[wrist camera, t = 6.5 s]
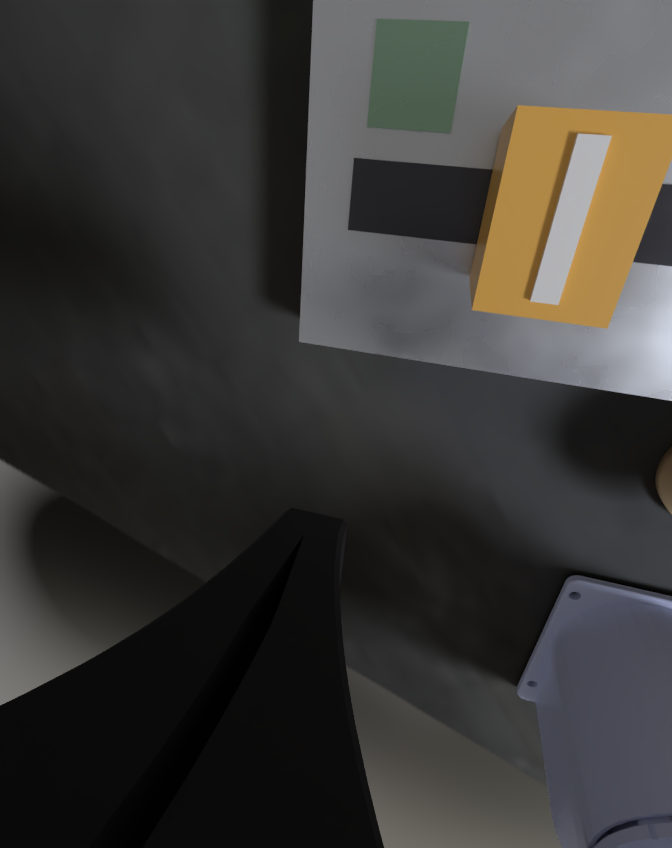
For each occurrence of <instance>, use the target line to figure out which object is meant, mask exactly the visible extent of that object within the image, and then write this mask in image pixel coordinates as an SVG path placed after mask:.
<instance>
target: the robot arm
mask: <svg viewBox="0 0 672 848" xmlns="http://www.w3.org/2000/svg"><path fill="white" fill-rule="evenodd" d="M347 526H348V525H347V524H346V522H345V521H344V520H343V519H338V518H334V517H329V516H325V515H321V514H316V513H312V512H307V511H303V510H298V509H294V508H291V509H289V510H287V511H286V512H285V513H284V514H283V515H282V516H281V517H280V518H279V519H278V520H277V521H276V522H275V523H274V524H273V525H272V526H271V527H270V528H269V529H268V530H267V531H266V532H265V533H264V534H263V535H262V536H260V537H259V538H258V539H257V540H256V541H255V542H254V543H253V544H252V545H251V546H250V547H248V548H247V549H246V550H245V551H244V552H243V553H241V554H240V555H239V556H238V557H237V558H236V559H235V560H233V561H232V562H231V563H230V564H229V565H228V566H226V567H225V568H224V569H223V570H222V571H220V572H219V573H218V574H217V575H215V576H214V577H213V578H211V579H210V580H209V581H208V582H206V583H205V584H204V585H203V586H201V587H200V588H199V589H197V590H196V591H195V592H194V593H192V594H191V595H190V596H188V597H187V598H186V599H184V600H183V601H181V602H180V603H179V604H177V605H176V606H175V607H173V608H172V609H170V610H169V611H167V612H166V613H164V614H163V615H162V616H160V617H158V618H157V619H155V620H154V621H152V622H151V623H149V624H148V625H146V626H145V627H143V628H142V629H140V630H139V631H137V632H135V633H134V634H132V635H130V636H129V637H127V638H126V639H124V640H122V641H121V642H119V643H117V644H116V645H114V646H112V647H111V648H109V649H107V650H106V651H104V652H102V653H101V654H99V655H97V656H95V657H94V658H92V659H90V660H88V661H86V662H85V663H83V664H81V665H79V666H77V667H75V668H74V669H71V670H70V671H68V672H66V673H64V674H62V675H60V676H58V677H56V678H54V679H52V680H50V681H48V682H47V683H44V684H43V685H41V686H39V687H37V688H35V689H33V690H31V691H29V692H27V693H25V694H23V695H21V696H19V697H17V698H15V699H13V700H11V701H9V702H7V703H5V704H3V705H1V706H0V848H384V846H383V842H382V838H381V835H380V831H379V827H378V823H377V819H376V815H375V810H374V806H373V802H372V799H371V795H370V790H369V786H368V782H367V777H366V773H365V768H364V763H363V759H362V754H361V749H360V744H359V740H358V735H357V730H356V725H355V720H354V715H353V709H352V703H351V697H350V692H349V686H348V678H347V671H346V664H345V656H344V647H343V637H342V626H341V612H340V583H341V576H342V567H343V559H344V551H345V542H346V534H347ZM572 592H577V593H575V594H571V593H572ZM517 694H518V696H520V697H521V698H522V699H525V700H529V701H532V702H536V709H537V716H538V723H539V730H540V737H541V744H542V751H543V758H544V765H545V772H546V779H547V786H548V793H549V800H550V807H551V814H552V819H553V823H554V827H555V831H556V834H557V836H558V839H559V841H560V843H561V846H562V848H672V596H668V595H664V594H660V593H655V592H651V591H646V590H642V589H637V588H633V587H629V586H624V585H620V584H615V583H611V582H606V581H602V580H598V579H593V578H589V577H584V576H579V575H574V576H570V577H569V578H567V579H566V581H565V583H564V585H563V587H562V589H561V592H560V594H559V596H558V598H557V600H556V603H555V605H554V607H553V609H552V611H551V613H550V616H549V618H548V620H547V622H546V624H545V627H544V629H543V631H542V633H541V635H540V637H539V640H538V642H537V644H536V646H535V648H534V650H533V653H532V655H531V657H530V659H529V661H528V664H527V666H526V668H525V670H524V672H523V674H522V677H521V679H520V681H519V683H518V685H517Z"/></svg>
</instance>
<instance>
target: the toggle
mask: <svg viewBox="0 0 672 848" xmlns="http://www.w3.org/2000/svg"><path fill="white" fill-rule="evenodd" d="M671 160H672V115H671V114H655V113H638V112H622V111H605V110H589V109H572V108H556V107H539V106H522V105H518V106H517V107H516V109H515V110H514V111H513V113H512V114H511V115H510V117H509V118H508V120H507V121H506V122H505V124H504V125H503V126H502V130H501V134H500V139H499V144H498V148H497V153H496V158H495V162H494V167H493V172H492V176H491V181H490V186H489V190H488V195H487V199H486V204H485V209H484V213H483V218H482V223H481V227H480V232H479V237H478V241H477V246H476V251H475V255H474V260H473V264H472V269H471V274H470V278H469V282H470V294H471V307H472V310H475V311H482V312H489V313H497V314H504V315H511V316H519V317H526V318H533V319H540V320H548V321H555V322H562V323H570V324H577V325H584V326H592V327H599V328H606V329H608V326H609V324H610V321H611V318H612V316H613V313H614V310H615V308H616V305H617V302H618V300H619V297H620V295H621V292H622V289H623V287H624V284H625V281H626V279H627V276H628V273H629V271H630V268H631V265H632V263H633V260H634V258H635V255H636V252H637V250H638V247H639V244H640V242H641V239H642V236H643V234H644V231H645V228H646V226H647V223H648V221H649V218H650V215H651V213H652V210H653V207H654V205H655V202H656V199H657V197H658V194H659V191H660V189H661V186H662V184H663V181H664V178H665V176H666V173H667V170H668V168H669V165H670V162H671Z"/></svg>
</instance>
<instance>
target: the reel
mask: <svg viewBox="0 0 672 848" xmlns="http://www.w3.org/2000/svg"><path fill="white" fill-rule="evenodd" d="M655 484H656V489H657V492H658V495H659V497H660V499H661V500H662V502H663V503H664V505H665V507H666V508H667V509H668V511H669V512H670V513H671V514H672V446H671V447H670V448H669V449H668V450H667V451H666V453H665V454H664V455H663V457H662V459H661V460H660V462H659V465H658V467H657V471H656V475H655Z"/></svg>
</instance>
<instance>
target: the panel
mask: <svg viewBox="0 0 672 848" xmlns="http://www.w3.org/2000/svg"><path fill="white" fill-rule="evenodd" d="M518 105H522V106H539V107H556V108H572V109H589V110H605V111H622V112H638V113H655V114H671V115H672V0H313V17H312V42H311V66H310V90H309V114H308V139H307V163H306V187H305V211H304V235H303V260H302V284H301V308H300V332H299V342H304V343H310V344H317V345H323V346H329V347H335V348H342V349H348V350H354V351H361V352H367V353H373V354H380V355H386V356H392V357H398V358H405V359H411V360H417V361H424V362H430V363H436V364H443V365H449V366H455V367H461V368H468V369H474V370H480V371H487V372H493V373H499V374H505V375H512V376H518V377H524V378H531V379H537V380H543V381H550V382H556V383H562V384H568V385H575V386H581V387H587V388H594V389H600V390H606V391H613V392H619V393H625V394H631V395H638V396H644V397H650V398H657V399H663V400H669V401H672V160H671V162H670V165H669V168H668V170H667V173H666V176H665V178H664V181H663V184H662V186H661V189H660V191H659V194H658V197H657V199H656V202H655V205H654V207H653V210H652V213H651V215H650V218H649V221H648V223H647V226H646V228H645V231H644V234H643V236H642V239H641V242H640V244H639V247H638V250H637V252H636V255H635V258H634V260H633V263H632V265H631V268H630V271H629V273H628V276H627V279H626V281H625V284H624V287H623V289H622V292H621V295H620V297H619V300H618V302H617V305H616V308H615V310H614V313H613V316H612V318H611V321H610V324H609V326H608V329H606V328H599V327H592V326H584V325H577V324H570V323H562V322H555V321H548V320H540V319H533V318H526V317H519V316H511V315H504V314H497V313H489V312H482V311H475V310H472V307H471V294H470V282H469V278H470V274H471V269H472V264H473V260H474V255H475V251H476V246H477V241H478V237H479V232H480V227H481V223H482V218H483V213H484V209H485V204H486V199H487V195H488V190H489V186H490V181H491V176H492V172H493V167H494V162H495V158H496V153H497V148H498V144H499V139H500V134H501V130H502V126H503V125H504V124H505V122H506V121H507V120H508V118H509V117H510V115H511V114H512V113H513V111H514V110H515V109H516V107H517V106H518Z"/></svg>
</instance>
